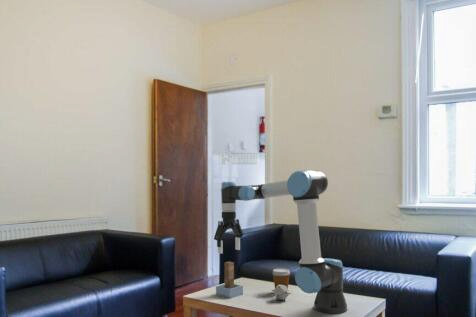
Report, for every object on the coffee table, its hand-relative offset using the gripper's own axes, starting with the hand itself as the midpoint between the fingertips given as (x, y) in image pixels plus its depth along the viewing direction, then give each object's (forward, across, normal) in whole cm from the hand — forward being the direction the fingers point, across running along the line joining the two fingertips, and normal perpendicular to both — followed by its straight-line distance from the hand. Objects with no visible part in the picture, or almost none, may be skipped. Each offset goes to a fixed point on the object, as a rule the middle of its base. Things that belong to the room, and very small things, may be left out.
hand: (229, 251), depth 236 cm
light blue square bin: (+22, 0, 0) cm, 23 cm away
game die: (+23, -9, +27) cm, 36 cm away
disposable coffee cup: (+23, -20, +19) cm, 36 cm away
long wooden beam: (+22, 0, 0) cm, 22 cm away
